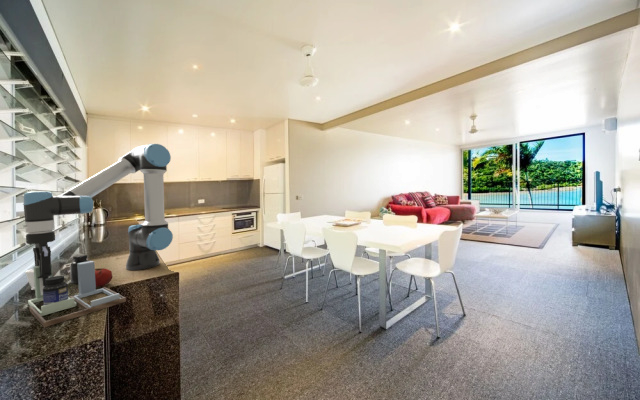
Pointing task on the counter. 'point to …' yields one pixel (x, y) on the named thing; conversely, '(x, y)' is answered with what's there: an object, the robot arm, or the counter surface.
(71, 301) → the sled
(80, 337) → the counter surface
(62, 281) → the pill bottle
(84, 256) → the supplement bottle
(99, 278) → the tomato
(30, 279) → the cup
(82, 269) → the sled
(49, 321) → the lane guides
